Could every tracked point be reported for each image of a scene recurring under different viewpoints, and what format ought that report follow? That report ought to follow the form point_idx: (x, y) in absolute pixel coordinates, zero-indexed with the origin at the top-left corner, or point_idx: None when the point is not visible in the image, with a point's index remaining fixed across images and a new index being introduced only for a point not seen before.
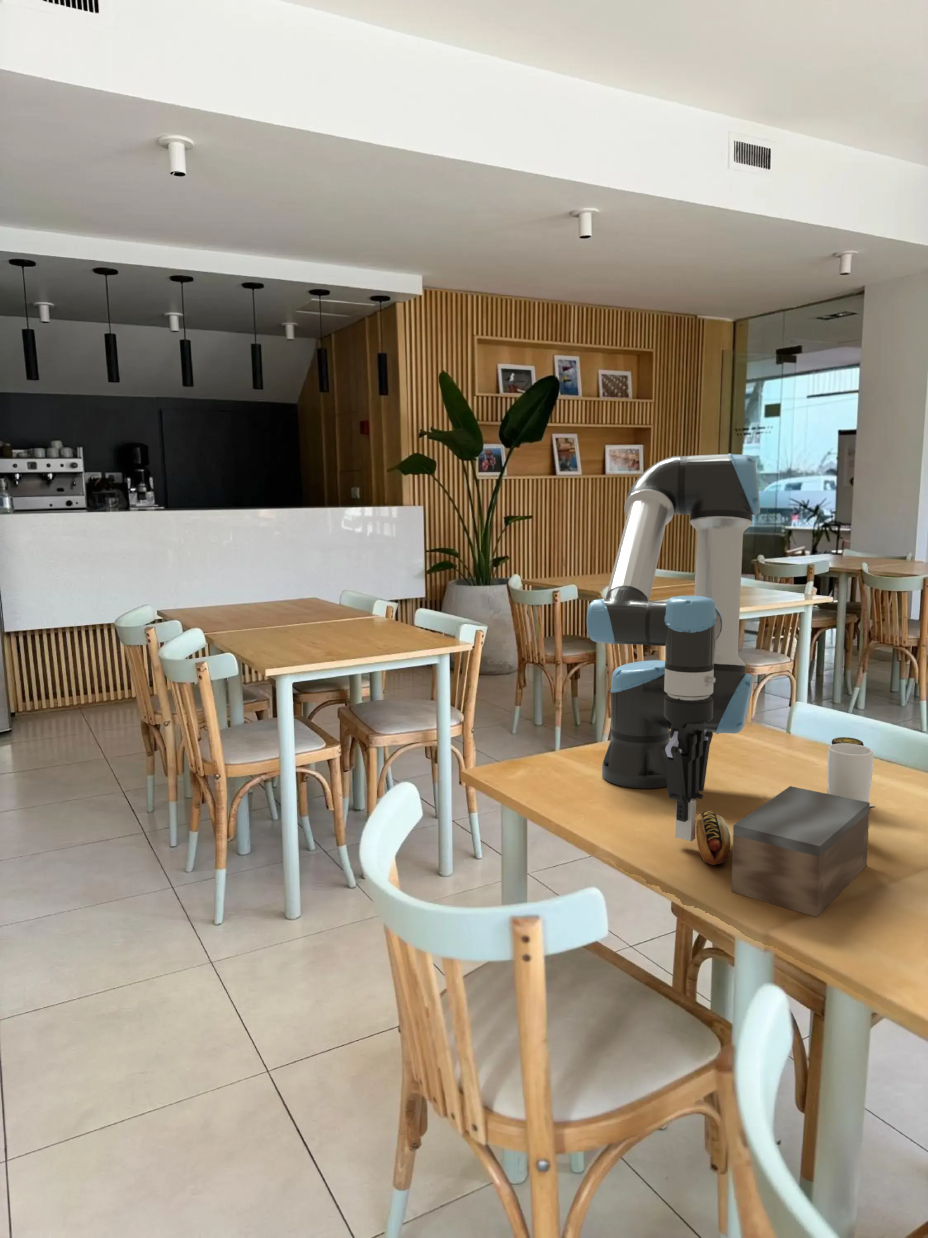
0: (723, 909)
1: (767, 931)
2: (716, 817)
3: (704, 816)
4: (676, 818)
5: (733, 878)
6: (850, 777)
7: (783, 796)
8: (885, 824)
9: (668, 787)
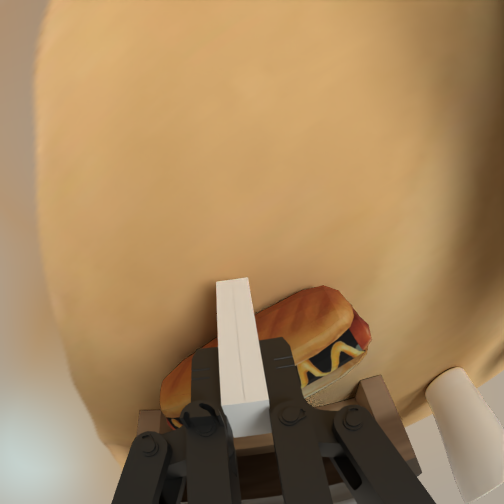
0: (93, 415)
1: (108, 443)
2: (339, 367)
3: (317, 358)
4: (218, 333)
5: (138, 431)
6: (454, 477)
7: (351, 500)
8: (488, 368)
9: (119, 488)
